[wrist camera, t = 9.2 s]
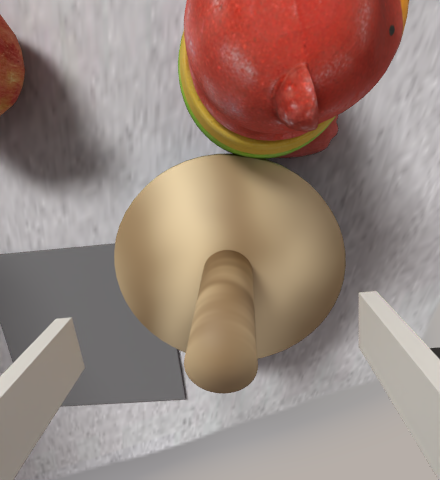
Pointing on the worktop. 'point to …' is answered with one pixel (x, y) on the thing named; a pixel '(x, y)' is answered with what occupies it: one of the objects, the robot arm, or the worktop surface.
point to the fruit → (9, 67)
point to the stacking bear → (282, 68)
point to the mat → (87, 324)
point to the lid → (229, 263)
